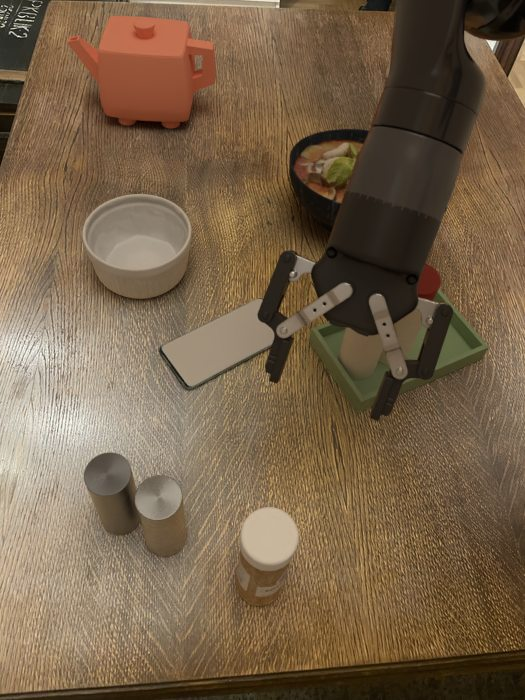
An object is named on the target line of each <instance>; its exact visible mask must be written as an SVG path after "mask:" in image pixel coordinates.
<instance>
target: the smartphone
mask: <svg viewBox="0 0 525 700" xmlns="http://www.w3.org/2000/svg"><path fill="white" fill-rule="evenodd" d="M263 298H264V297H263ZM263 298H262V297H256V298H254V299H253V300H250V301H248V302H246V303H244V304H242V305H240V306H238V307H236V308H234V309H232V310H230V311H228V312H226V313H225V314H222V315H220V316H218V317H216V318H214V319H212V320H210V321H208V322H206V323H204V324H202V325H200V326H198V327H196V328H194V329H192V330H190V331H188V332H186V333H184V334H181V335H180V336H178V337H175V338H173V339H172V340H169V341H167V342H165V343H163V344H161V345H160V346H159V348H158V351H159V353H160V355H161V357H162V358H163V359H164V360H165V362H166V364H167V365H168V367H169V368H171V370H172V371H173V373H174V375H175V376H176V377H177V378H178V380H179V382H180V383H181V384H182V386H183V387H184V388H185V389H187V390H192V389H195V388H197V387H199V386H201V385H202V384H204V383H206V382H208V381H210V380H211V379H214V378H216V377H217V376H220V375H221V374H223V373H224V372H226V371H229V370H230V369H232V368H234V367H236V366H238V365H240V364H242V363H243V362H246V361H247V360H249V359H251V358H253V357H254V356H256V355H258V354H260V353H262V352H264V351H266V350H267V349H269V348H271V346H272V343H273V340H274V332H273V330H272V329H271V328H270V327H269V326H268V325H266V324H265V323H262V322H261V321H259V319H258V316H257V314H258V311H259V309H260V306H261V303H262V301H263Z"/></svg>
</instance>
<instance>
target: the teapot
mask: <svg viewBox="0 0 525 700" xmlns="http://www.w3.org/2000/svg"><path fill="white" fill-rule="evenodd" d="M67 45H68V46H69V47H70V49H71V50H72V51H73V53H74V54H75V55H76V56H77V58H78V59H79V60H80V62H81V63H82V64H83V66H84V67H85V68H86V69H87V71H88V72H89V73H90V74H91V76H92V77H93V78H94V80H95V81H96V82H97V84H98V91H99V98H100V104H101V107H102V109H103V112H104V114H105V116H107V117H111V118H118V123H119V124H120V125H123V126H132V125H134V124H135V123H137V121H142V122H143V121H144V122H161V125H162V126H163V128H165V129H176V128H178V127H179V126H180V123H181V122H183V123H184V122H187V121H188V120H189V118H190V115H191V111H192V106H193V101H194V95H195V92H198V91H200V90H203V89H205V88H207V87H210V86H212V85H215V84H216V80H217V67H216V66H217V65H216V53H215V42H214V41H208V40H202V39H196V38H193V37H192V31H191V27H190V23H189V21H186V20H185V21H184V20H179V19H171V18H160V17H149V16H133V15H132V16H131V15H111V16H110V17H109V18H108V20H107V22H106V25H105V27H104V31H103V33H102V35H101V38H100V41H99V45H98V48H97V49H96V48H95V47H94V46H92V45H91V44H90V43H89V42H88V41H86V40H85V39H84V38H82V36H81V35H74V36H68V38H67ZM196 56H202V68H199V69H197V68H196ZM196 69H197V70H196Z"/></svg>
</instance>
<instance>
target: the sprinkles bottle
mask: <svg viewBox="0 0 525 700" xmlns="http://www.w3.org/2000/svg"><path fill="white" fill-rule="evenodd" d="M238 539H239V540H238V543H239V552H238V561H237V571H236V572H237V573H236V575H235V586H236V590H237V593H238V594H239V595H240V597H241V599H242V600H244V601H245V602H246V603H247V604H248V605H251V606H256V607H264V606H268V605H270V604H272V603H273V602H275V601H276V600H277V599H278V598H279V597H280V595H281V593H282V591H283V587H284V582H285V580H286V577H287V574H288V570H289V567H290V564H291V562H292V560H293V558H294V557H295V555H296V552H297V549H298V546H299V540H300V534H299V528H298V526H297V523H296V522H295V520H294V519H293V517H291V515H290V514H289V513H287V512H286V511H284V510H283V509H281V508H278V507H273V506H265V507H260V508H257V509H255V510H254V511H252V512H251V513H249V514H248V515H247V516H246V518H245V519H244V521H243V523H242V525H241V527H240V533H239V537H238Z"/></svg>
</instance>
